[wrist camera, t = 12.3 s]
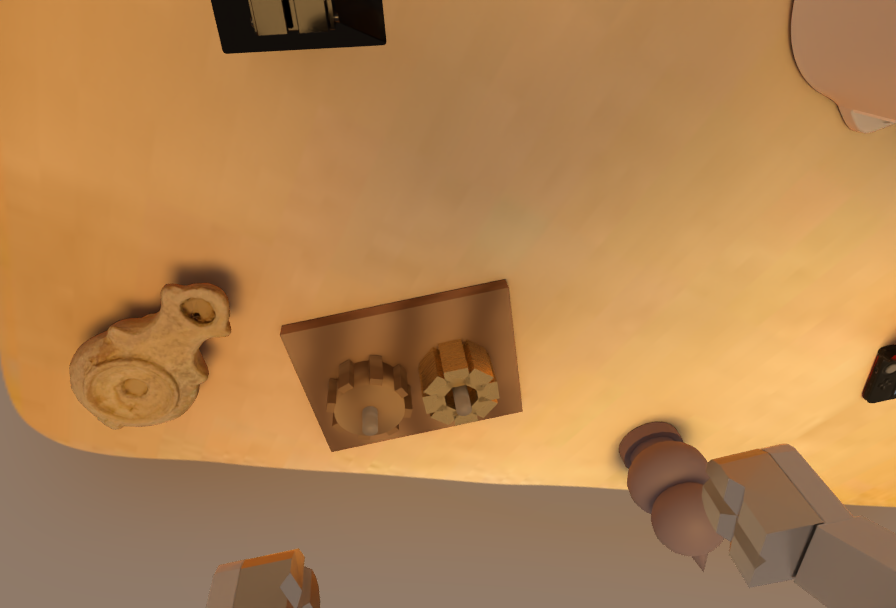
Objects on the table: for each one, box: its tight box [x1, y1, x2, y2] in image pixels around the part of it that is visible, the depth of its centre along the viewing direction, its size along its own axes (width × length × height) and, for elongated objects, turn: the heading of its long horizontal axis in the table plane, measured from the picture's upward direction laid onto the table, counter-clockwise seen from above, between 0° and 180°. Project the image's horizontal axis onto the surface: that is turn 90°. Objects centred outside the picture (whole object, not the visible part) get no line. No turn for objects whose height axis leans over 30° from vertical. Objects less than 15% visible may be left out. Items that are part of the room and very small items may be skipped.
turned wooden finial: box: [619, 422, 724, 571], centre depth 52 cm, size 8×8×12 cm
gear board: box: [280, 280, 523, 452], centre depth 44 cm, size 18×14×6 cm
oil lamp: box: [69, 283, 231, 430], centre depth 39 cm, size 11×14×5 cm
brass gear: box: [418, 339, 500, 426], centre depth 44 cm, size 6×6×4 cm
